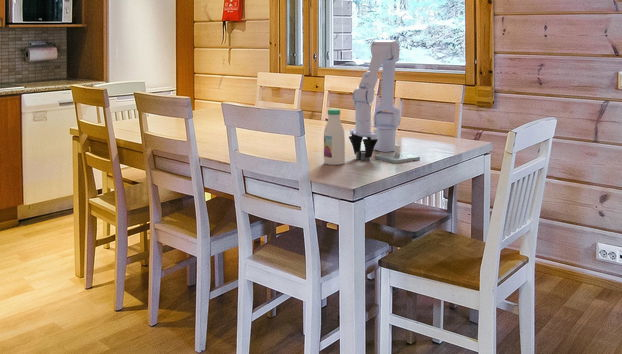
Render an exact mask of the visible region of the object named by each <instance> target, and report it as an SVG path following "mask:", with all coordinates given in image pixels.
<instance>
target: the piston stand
mask: <svg viewBox="0 0 622 354" xmlns="http://www.w3.org/2000/svg"><path fill="white" fill-rule="evenodd" d="M374 159H376V160H380V161H383V162H387V163H391V164H401V163H407V161H408V162H414V161H413V160H415V161H420V160H421V156H419V155H415V154H411V153H406V152H401V145H399V144H395V151H394V152H388V153H382V154H381V153H380V154H375V155H374ZM419 159H420V160H419Z"/></svg>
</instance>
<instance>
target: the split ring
mask: <svg viewBox="0 0 622 354" xmlns="http://www.w3.org/2000/svg"><path fill="white" fill-rule="evenodd" d="M355 160H356V161H359V160H360V162H361V161H362V162H364V161H366V162H367V161H370V160H371V157H368V158H367V157H366V155H365V149H363V150H362V149H361V150H360V151H356V155H355Z"/></svg>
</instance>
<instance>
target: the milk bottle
mask: <svg viewBox="0 0 622 354" xmlns="http://www.w3.org/2000/svg"><path fill="white" fill-rule="evenodd" d="M327 117H328V118H327V121H326V125H325V127H324V129H323V162H324V164H325V165H327V166H328V165H331V166H339V165H344V164H345V161H346V151H345V150H346V144H345V143H346V142H345V140H346V138H345V129H344V126H343V124H342V121H341V109H339V108H338V109H337V108H329V109H327Z"/></svg>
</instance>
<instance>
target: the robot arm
mask: <svg viewBox="0 0 622 354" xmlns="http://www.w3.org/2000/svg"><path fill="white" fill-rule="evenodd" d="M400 50H401V49H400V45H399V42H398V41H397V40H396V39H394V40H393V39H392V40H377V39H376V40H373V41H372V42H371V45H370V52H371V58H370V59H371V60H370V62H369V66H368V68H367V69H368V70H367V71H365V72H364V73H363V74H362V77H361V80H360V82H359V84H358V87H356V89H354V91H353V93H352V101H353V107H354V108H355V119H354V120H355V124H354V126H355V128H353V129H349V133H350V134H349V135H350V136H348V139H349V142H350V143H351V145H352V148H353V149H352V150H353V153H354V155H355V156H356V151H360V150H362V149H361V148H362V142H363V144H364V145H363V146H364V150H365V155H366V157H367V158H368V157H370V158H372V156H373V153H374V150H375V151H377V152H378V151H379V152H383V153H387V152H388V153H391V152H395V145H396V143H397V142H396V137H397V135H396V131H397V129H398V128H399V126H400V124H401V114H400V113H401V112H400V111H401V110H400V108H398V107H397V106H396V105H395V104H394V99H395V80H396V79H395V75H396V63H397V62H399V59H400ZM381 66H382V75H381V77H382V78H381V93H380V94H381V98H380V104H379V105H378V106H376V108H375V109H374V115H373V120H372V110H371V109H372V107H371V105H372V103H373V101H374V97H375V88H376V85H377V82H378V80H379V77H378V75H377V74H378V72H379V71H380V69H381ZM371 120H372V121H373V125H374V126H375V128H374V130H373V131H372V129H371V128H372V127H371V125H372V124H371V123H372V121H371Z"/></svg>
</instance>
